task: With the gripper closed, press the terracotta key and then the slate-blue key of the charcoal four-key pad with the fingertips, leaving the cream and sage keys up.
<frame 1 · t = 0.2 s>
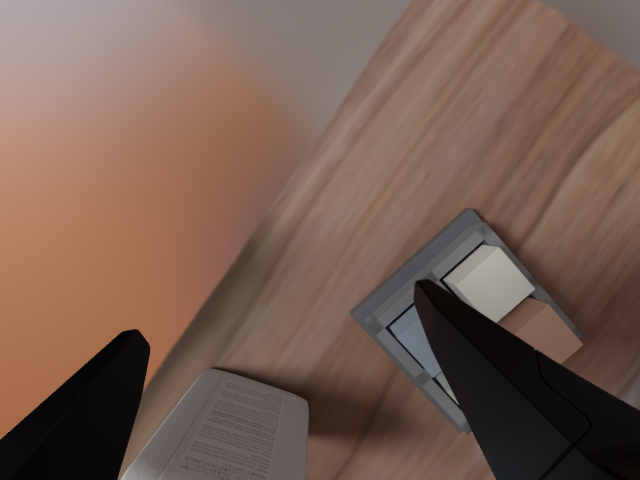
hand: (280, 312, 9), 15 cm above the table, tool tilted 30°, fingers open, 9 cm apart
terracotta key: (533, 337, 21), point 3 cm above the table, slide at 0.0 cm
slate-blue key: (430, 333, 21), point 3 cm above the table, slide at 0.0 cm
keypad board: (460, 320, 24), on the table
photo printer: (251, 398, 25), on the table
sage key: (478, 385, 22), point 3 cm above the table, slide at 0.0 cm
cream key: (487, 284, 21), point 3 cm above the table, slide at 0.0 cm
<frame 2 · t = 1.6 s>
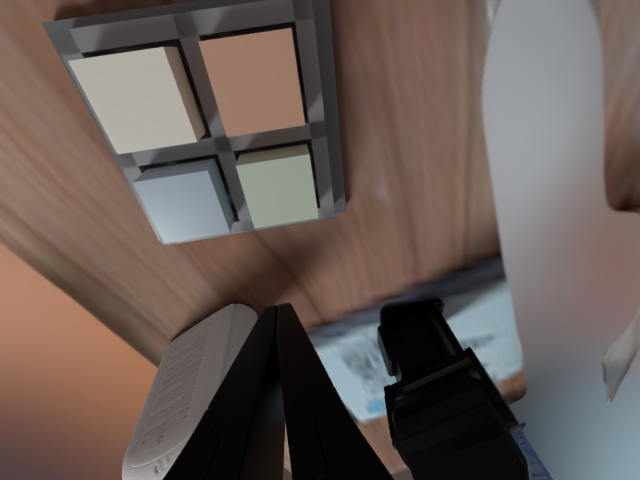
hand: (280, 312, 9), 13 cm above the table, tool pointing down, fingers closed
terracotta key: (257, 84, 14), point 3 cm above the table, slide at 0.0 cm
slate-blue key: (189, 201, 17), point 3 cm above the table, slide at 0.0 cm
keypad board: (229, 134, 18), on the table
photo printer: (214, 329, 29), on the table
sage key: (280, 186, 17), point 3 cm above the table, slide at 0.0 cm
ink cartridge box: (475, 417, 47), on the table
cream key: (146, 101, 14), point 3 cm above the table, slide at 0.0 cm
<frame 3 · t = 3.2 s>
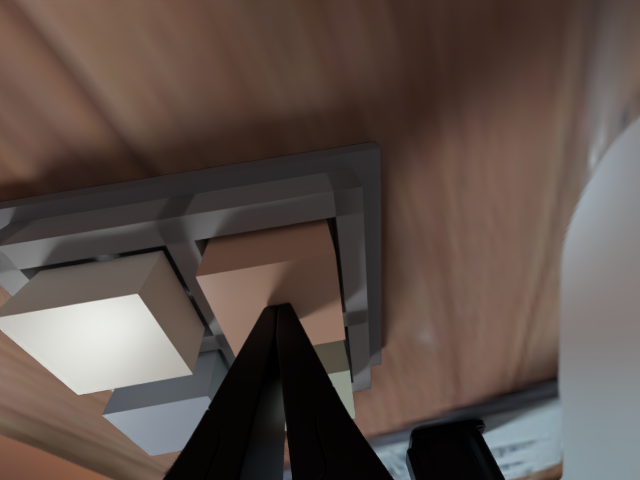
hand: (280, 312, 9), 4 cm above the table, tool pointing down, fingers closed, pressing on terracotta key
terracotta key: (280, 290, 10), point 3 cm above the table, slide at 0.3 cm, touching gripper
slate-blue key: (183, 404, 13), point 3 cm above the table, slide at 0.0 cm
keypad board: (235, 298, 14), on the table
sage key: (304, 382, 13), point 3 cm above the table, slide at 0.0 cm
cream key: (119, 324, 10), point 3 cm above the table, slide at 0.0 cm
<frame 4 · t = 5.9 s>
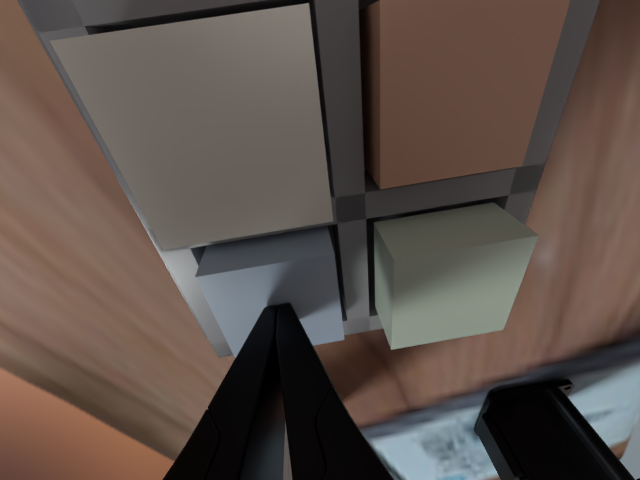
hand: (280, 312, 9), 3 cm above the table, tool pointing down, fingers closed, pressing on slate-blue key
terracotta key: (443, 92, 8), point 2 cm above the table, slide at 1.3 cm
slate-blue key: (279, 290, 10), point 2 cm above the table, slide at 0.7 cm, touching gripper
keypad board: (337, 178, 11), on the table
sage key: (440, 278, 10), point 3 cm above the table, slide at 0.0 cm
cream key: (229, 137, 6), point 3 cm above the table, slide at 0.0 cm
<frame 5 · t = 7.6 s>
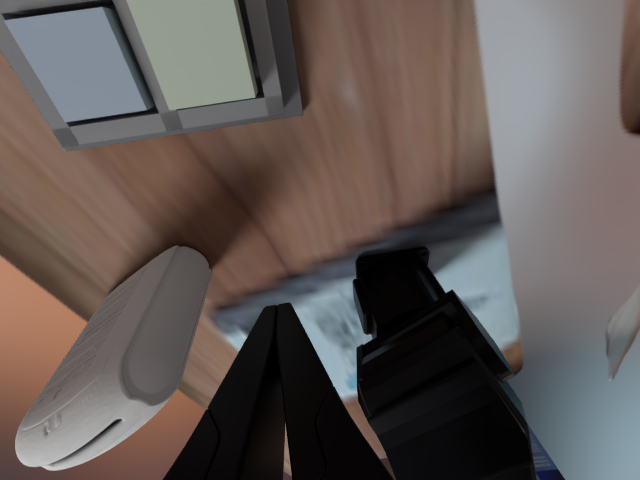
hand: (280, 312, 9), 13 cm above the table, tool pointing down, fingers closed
slate-blue key: (93, 67, 14), point 2 cm above the table, slide at 1.3 cm
photo printer: (159, 281, 24), on the table
sage key: (202, 52, 13), point 3 cm above the table, slide at 0.0 cm
ink cartridge box: (468, 396, 44), on the table
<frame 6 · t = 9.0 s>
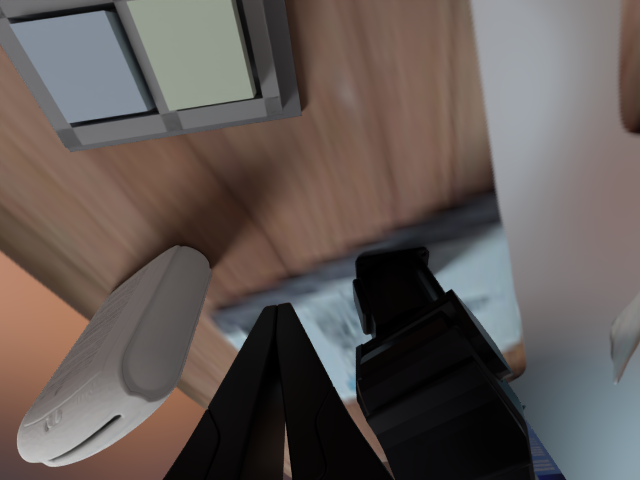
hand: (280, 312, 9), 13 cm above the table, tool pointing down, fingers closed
slate-blue key: (96, 70, 14), point 2 cm above the table, slide at 1.3 cm
photo printer: (160, 281, 24), on the table
sage key: (201, 53, 13), point 3 cm above the table, slide at 0.0 cm
ink cartridge box: (470, 398, 43), on the table
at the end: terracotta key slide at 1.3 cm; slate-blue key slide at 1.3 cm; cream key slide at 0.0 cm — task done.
